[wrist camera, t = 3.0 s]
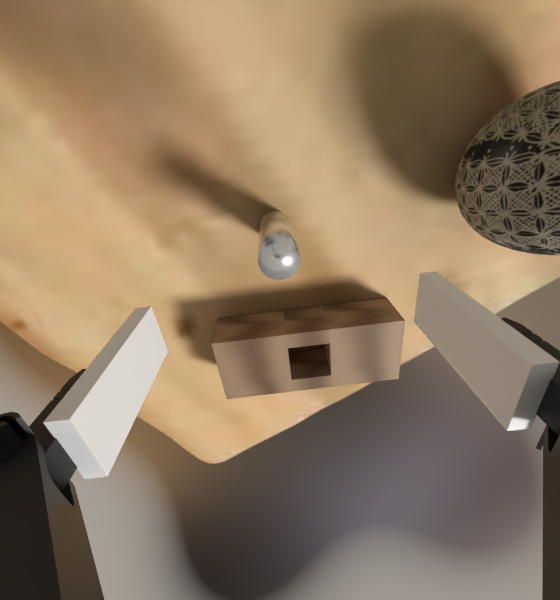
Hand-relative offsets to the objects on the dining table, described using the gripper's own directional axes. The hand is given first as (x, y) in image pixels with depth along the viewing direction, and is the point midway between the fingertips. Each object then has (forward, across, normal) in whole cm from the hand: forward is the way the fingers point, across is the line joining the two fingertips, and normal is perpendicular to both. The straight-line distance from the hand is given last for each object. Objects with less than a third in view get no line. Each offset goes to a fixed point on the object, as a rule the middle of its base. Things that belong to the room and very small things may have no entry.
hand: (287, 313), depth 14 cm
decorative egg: (+17, +21, +3) cm, 27 cm away
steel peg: (+17, 0, 0) cm, 17 cm away
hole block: (+17, +2, -14) cm, 22 cm away
